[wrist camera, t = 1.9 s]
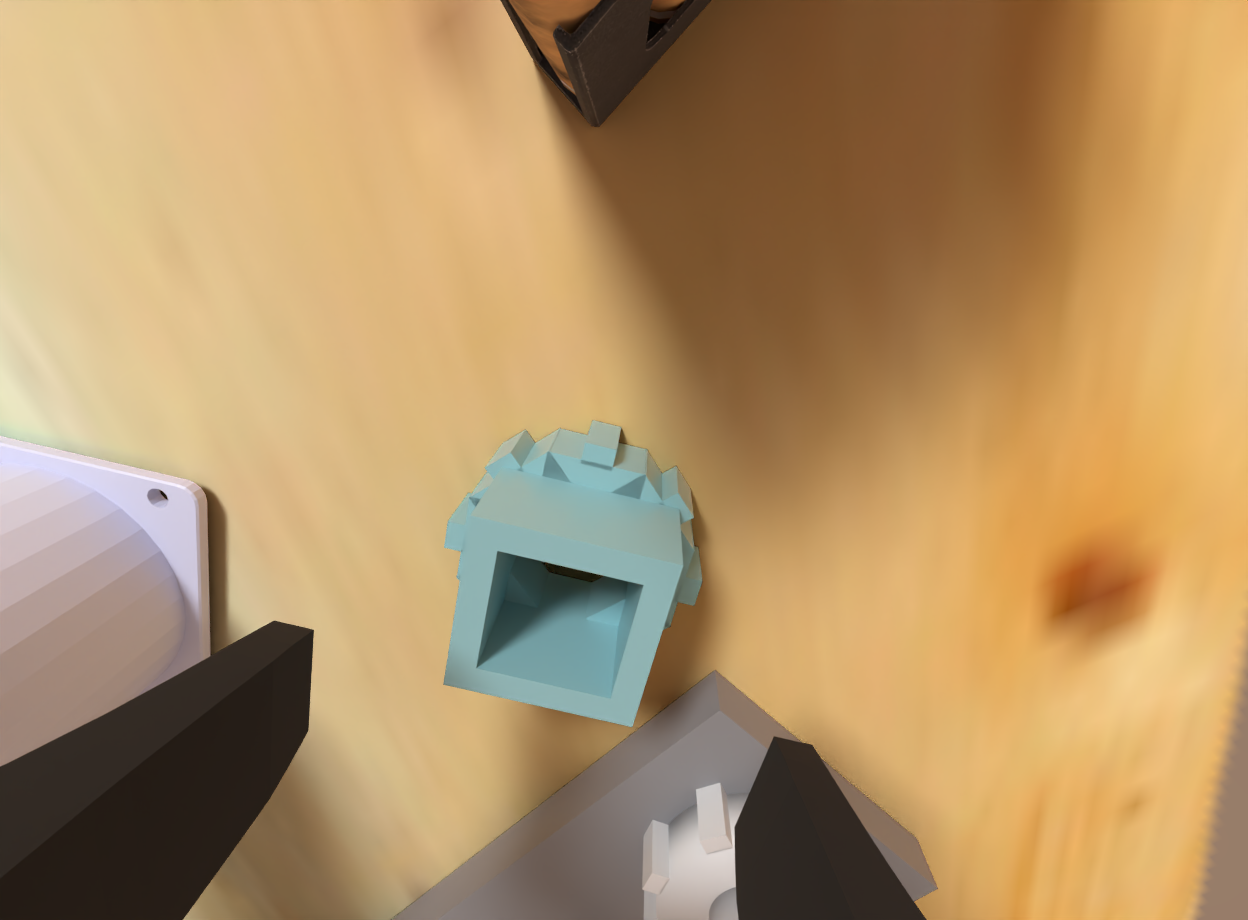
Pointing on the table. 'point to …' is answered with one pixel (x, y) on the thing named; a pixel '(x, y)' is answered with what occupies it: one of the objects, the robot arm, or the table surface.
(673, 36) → the ammunition clip
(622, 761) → the gear board
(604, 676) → the teal gear
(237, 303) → the table surface
